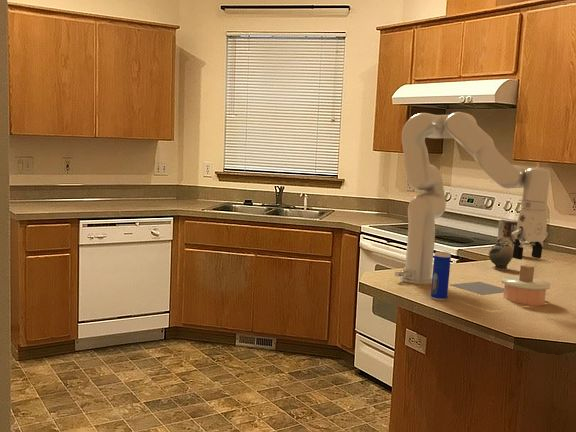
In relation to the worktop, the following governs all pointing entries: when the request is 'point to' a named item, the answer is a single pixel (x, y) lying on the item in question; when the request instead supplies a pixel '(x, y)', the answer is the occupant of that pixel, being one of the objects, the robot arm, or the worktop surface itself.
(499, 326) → the worktop surface
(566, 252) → the worktop surface
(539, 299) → the bowl
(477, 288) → the mat
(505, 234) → the coffee box
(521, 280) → the lid
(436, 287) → the beverage can
